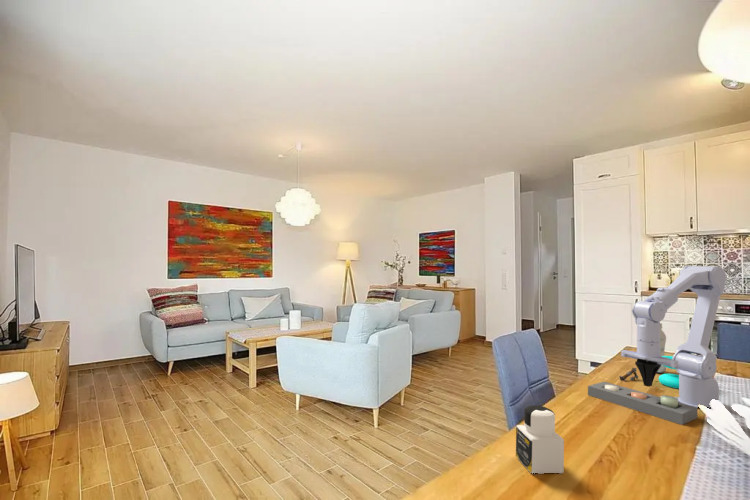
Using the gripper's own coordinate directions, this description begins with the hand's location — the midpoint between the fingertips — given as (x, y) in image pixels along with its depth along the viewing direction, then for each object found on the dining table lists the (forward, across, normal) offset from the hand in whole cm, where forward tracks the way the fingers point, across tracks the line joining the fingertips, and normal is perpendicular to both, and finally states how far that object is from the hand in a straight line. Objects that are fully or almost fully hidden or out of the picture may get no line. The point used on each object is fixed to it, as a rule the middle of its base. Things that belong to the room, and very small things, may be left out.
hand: (647, 385), depth 116 cm
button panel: (+7, -2, 0) cm, 7 cm away
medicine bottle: (+7, +5, -59) cm, 60 cm away
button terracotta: (+6, -2, 0) cm, 7 cm away
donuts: (+7, -6, +35) cm, 36 cm away
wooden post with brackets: (+7, -18, +26) cm, 32 cm away
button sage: (+5, +6, 0) cm, 7 cm away
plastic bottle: (+7, -18, +48) cm, 52 cm away
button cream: (+6, -10, 0) cm, 12 cm away
